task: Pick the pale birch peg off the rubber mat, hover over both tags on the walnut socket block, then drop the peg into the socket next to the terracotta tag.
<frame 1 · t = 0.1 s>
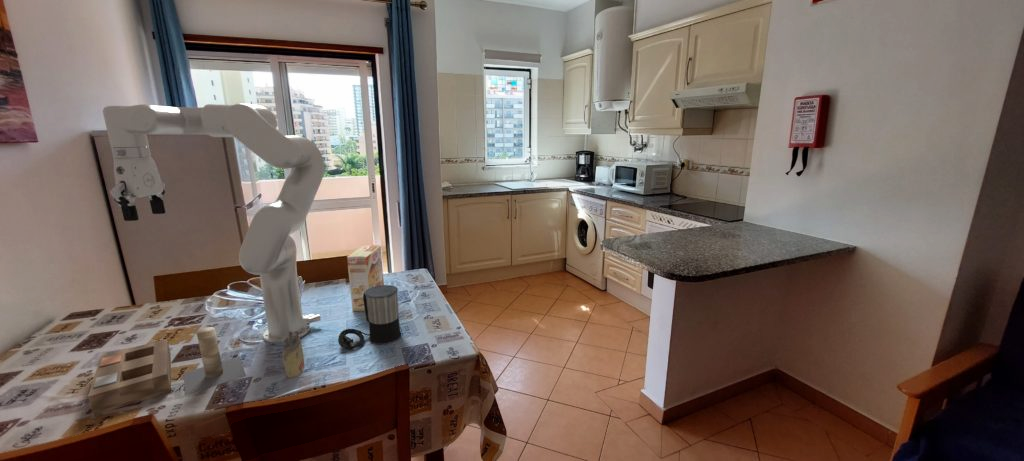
hand: (146, 216, 113), 37 cm above the table, fingers open, 9 cm apart
coffeecake box: (369, 303, 147), on the table
peg: (214, 374, 103), resting on mat
milk frother: (371, 341, 119), on the table
socket block: (137, 382, 100), on the table
mat: (214, 375, 103), on the table
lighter: (295, 371, 104), on the table
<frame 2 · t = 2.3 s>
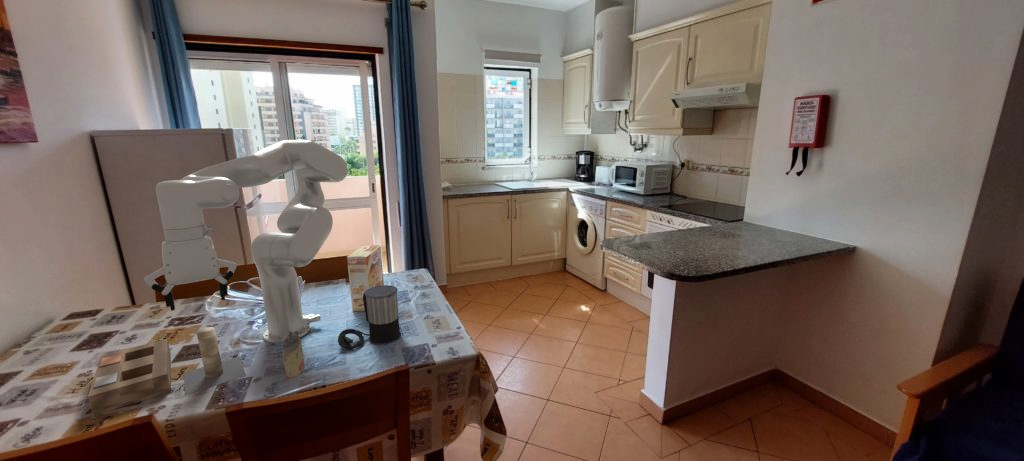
hand: (198, 303, 98), 20 cm above the table, fingers open, 9 cm apart
nothing on the table moved.
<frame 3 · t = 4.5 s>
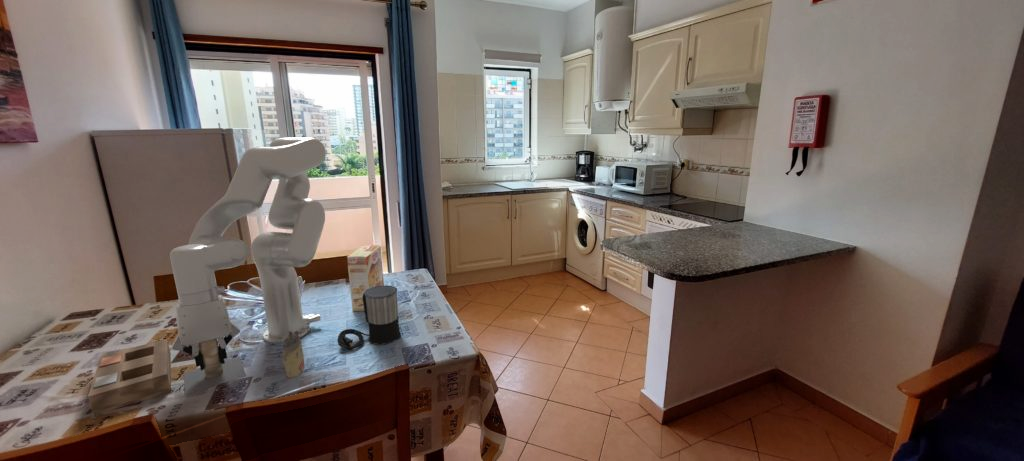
hand: (212, 364, 102), 3 cm above the table, fingers closed on peg, 3 cm apart
peg: (214, 374, 103), resting on mat, touching gripper
everything else where it was.
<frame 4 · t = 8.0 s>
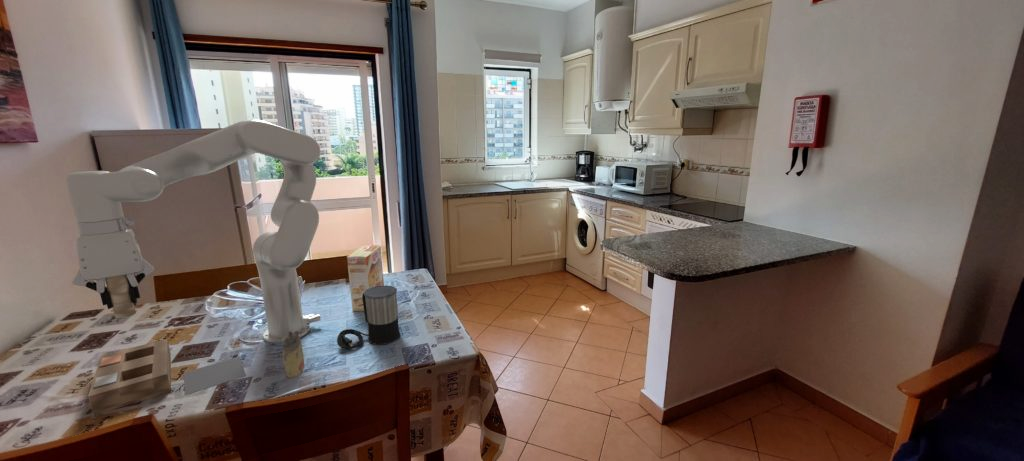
hand: (122, 303, 95), 21 cm above the table, fingers closed on peg, 3 cm apart
peg: (125, 314, 95), point 18 cm above the table, touching gripper
everything else where it was.
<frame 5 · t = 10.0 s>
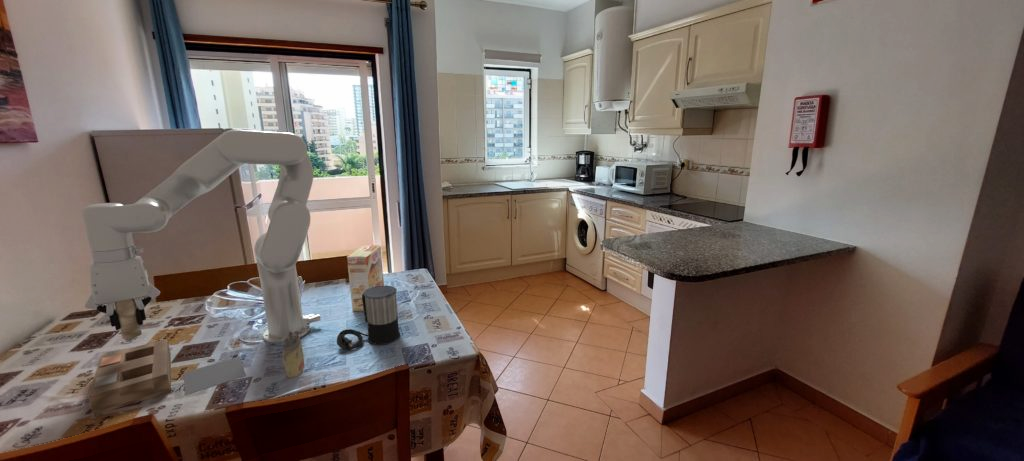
hand: (129, 325, 102), 13 cm above the table, fingers closed on peg, 3 cm apart
peg: (132, 335, 102), point 10 cm above the table, touching gripper
everything else where it was.
when the fingers open (6 cm above the table, at t = 11.6 s): peg drops 2 cm, resting on socket block.
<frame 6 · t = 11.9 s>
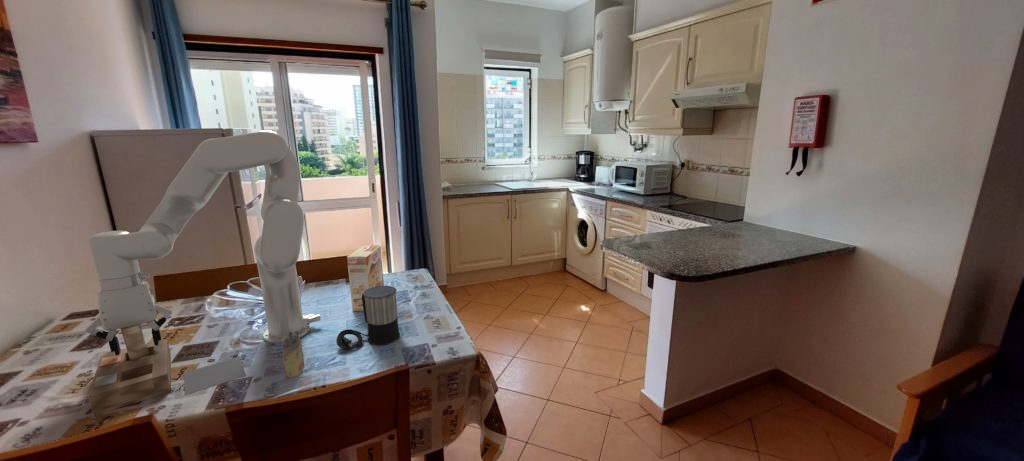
hand: (137, 347, 103), 7 cm above the table, fingers open, 6 cm apart
peg: (142, 367, 105), point 1 cm above the table, touching socket block
everything else where it was.
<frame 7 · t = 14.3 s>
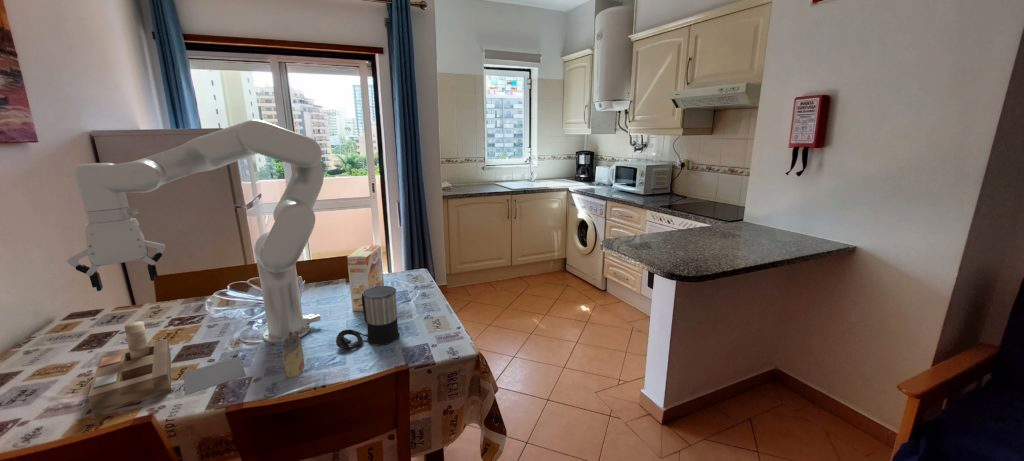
hand: (127, 284, 100), 23 cm above the table, fingers open, 9 cm apart
nothing on the table moved.
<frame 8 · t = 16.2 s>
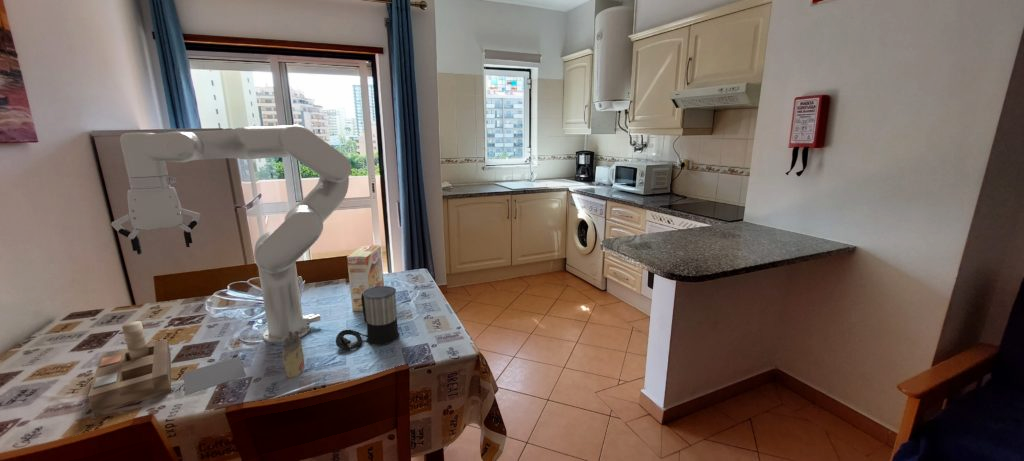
hand: (164, 249, 105), 30 cm above the table, fingers open, 9 cm apart
nothing on the table moved.
at the end: peg 0.1 cm from the target spot on the socket block, point 1.1 cm above the socket block's base; peg tilted 2°; the gripper is holding nothing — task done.
